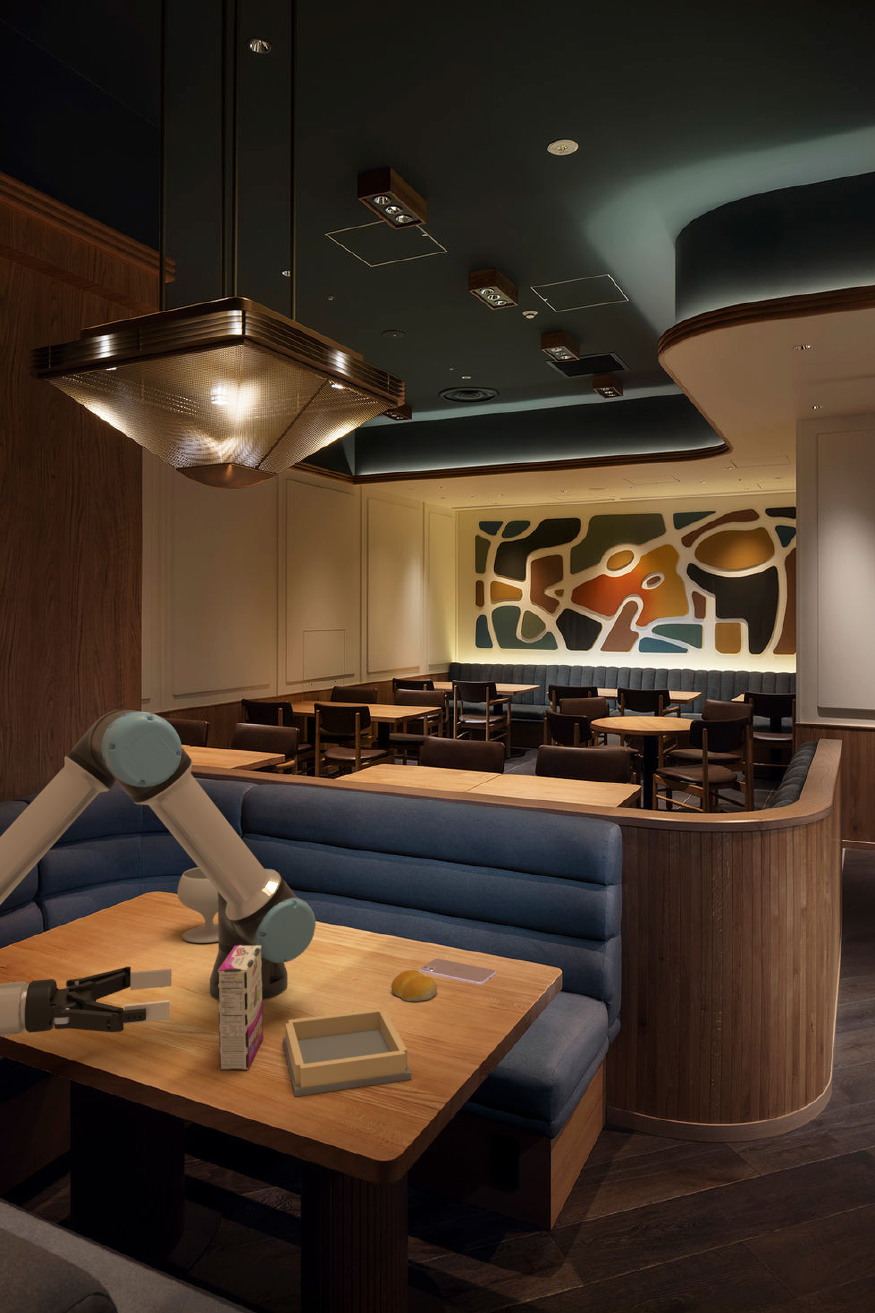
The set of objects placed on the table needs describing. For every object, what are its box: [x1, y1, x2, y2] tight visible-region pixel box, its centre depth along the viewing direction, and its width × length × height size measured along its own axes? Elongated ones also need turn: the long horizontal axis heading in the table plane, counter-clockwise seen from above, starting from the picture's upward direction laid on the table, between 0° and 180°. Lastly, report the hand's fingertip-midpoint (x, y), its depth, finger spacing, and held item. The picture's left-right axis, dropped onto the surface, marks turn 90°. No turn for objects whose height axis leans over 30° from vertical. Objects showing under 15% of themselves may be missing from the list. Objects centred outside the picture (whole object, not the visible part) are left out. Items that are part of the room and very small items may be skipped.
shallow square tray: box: [282, 1008, 412, 1097], centre depth 139 cm, size 18×18×4 cm
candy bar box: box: [217, 945, 264, 1071], centre depth 141 cm, size 11×5×16 cm, turn 179°
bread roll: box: [390, 969, 438, 1002], centre depth 166 cm, size 8×9×4 cm
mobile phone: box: [419, 958, 497, 986], centre depth 177 cm, size 8×1×15 cm
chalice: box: [177, 866, 219, 944], centre depth 199 cm, size 14×14×15 cm
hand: (170, 992), depth 138 cm, fingers open, 13 cm apart
